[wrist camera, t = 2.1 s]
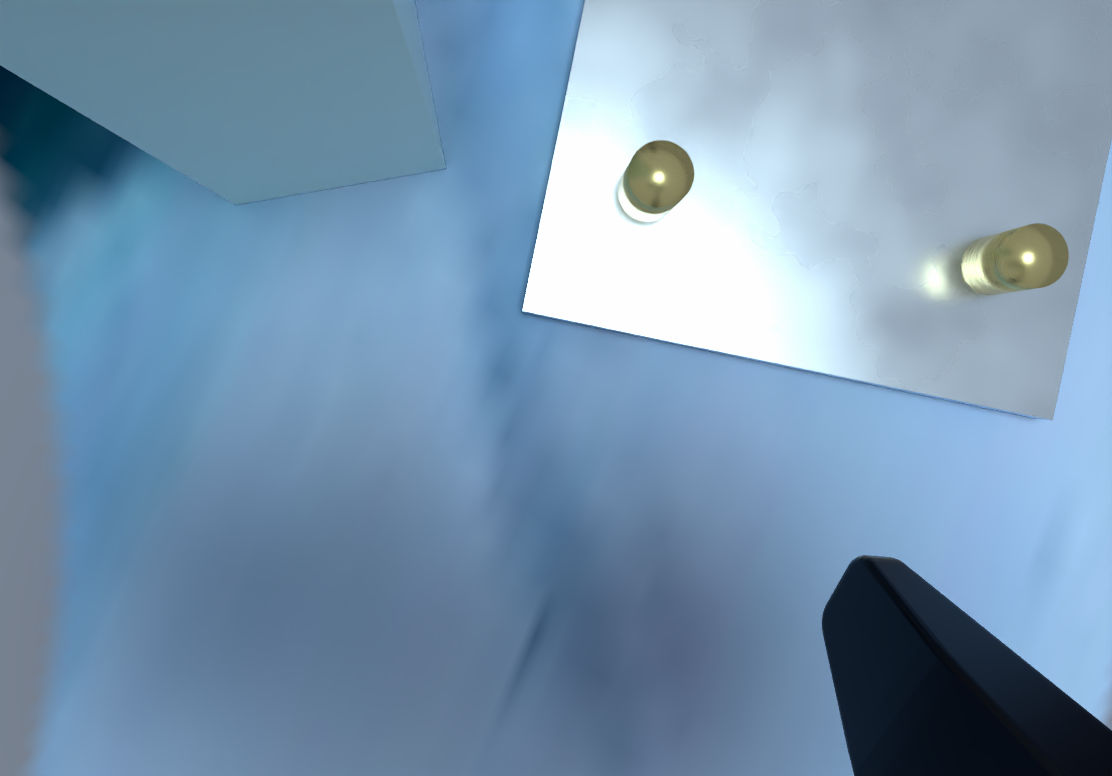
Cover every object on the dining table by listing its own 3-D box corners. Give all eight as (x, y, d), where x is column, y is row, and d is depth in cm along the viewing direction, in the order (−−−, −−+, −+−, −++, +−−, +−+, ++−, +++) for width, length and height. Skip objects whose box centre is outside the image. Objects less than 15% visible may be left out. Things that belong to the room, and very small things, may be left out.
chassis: (1037, 418, 21) (1106, 425, 18) (522, 312, 20) (523, 304, 17) (1170, -220, 20) (1257, -298, 18) (656, -352, 20) (676, -451, 17)
